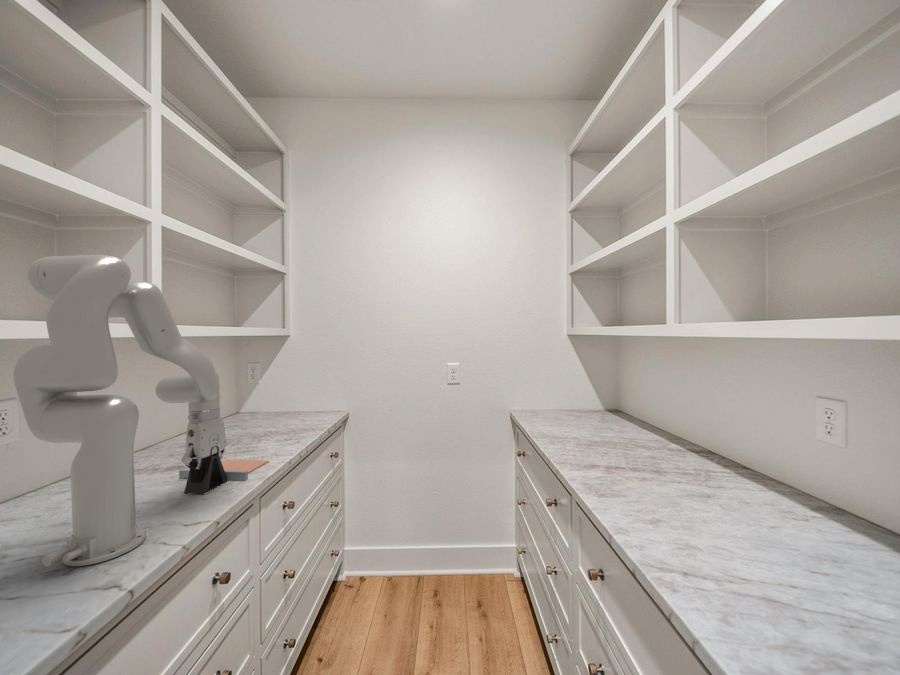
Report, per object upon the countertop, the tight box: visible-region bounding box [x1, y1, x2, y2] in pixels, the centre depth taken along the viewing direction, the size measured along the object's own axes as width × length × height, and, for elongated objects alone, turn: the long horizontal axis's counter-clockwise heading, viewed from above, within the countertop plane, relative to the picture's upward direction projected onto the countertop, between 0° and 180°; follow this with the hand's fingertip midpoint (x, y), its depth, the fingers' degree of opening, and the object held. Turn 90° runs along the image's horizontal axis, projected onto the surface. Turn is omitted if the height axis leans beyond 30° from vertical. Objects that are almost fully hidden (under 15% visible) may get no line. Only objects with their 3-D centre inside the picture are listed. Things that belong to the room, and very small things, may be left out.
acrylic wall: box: [178, 468, 249, 482], centre depth 113 cm, size 1×22×2 cm, turn 82°
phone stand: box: [183, 446, 229, 495], centre depth 107 cm, size 9×6×12 cm, turn 171°
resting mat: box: [221, 459, 270, 474], centre depth 122 cm, size 13×16×1 cm
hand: (206, 477), depth 107 cm, fingers open, 6 cm apart
